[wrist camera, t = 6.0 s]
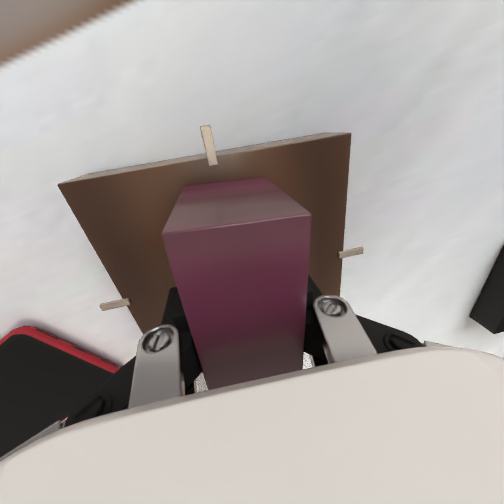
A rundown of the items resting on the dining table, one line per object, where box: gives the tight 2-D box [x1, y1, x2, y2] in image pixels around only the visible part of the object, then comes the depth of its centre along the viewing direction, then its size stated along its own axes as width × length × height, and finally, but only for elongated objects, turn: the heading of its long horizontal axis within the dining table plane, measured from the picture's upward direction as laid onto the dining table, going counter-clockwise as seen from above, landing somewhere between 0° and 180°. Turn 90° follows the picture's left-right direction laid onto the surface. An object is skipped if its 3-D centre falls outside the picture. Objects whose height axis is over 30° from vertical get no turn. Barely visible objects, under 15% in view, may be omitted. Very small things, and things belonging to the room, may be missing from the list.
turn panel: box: [58, 125, 363, 335], centre depth 13 cm, size 14×14×3 cm
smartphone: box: [0, 326, 120, 458], centre depth 16 cm, size 7×1×15 cm
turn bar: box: [161, 177, 312, 390], centre depth 9 cm, size 10×4×5 cm, turn 4°
